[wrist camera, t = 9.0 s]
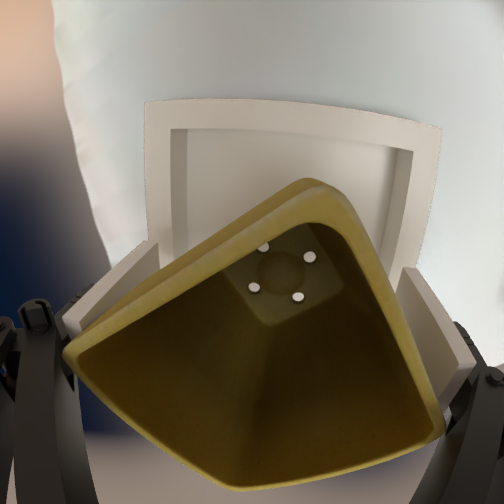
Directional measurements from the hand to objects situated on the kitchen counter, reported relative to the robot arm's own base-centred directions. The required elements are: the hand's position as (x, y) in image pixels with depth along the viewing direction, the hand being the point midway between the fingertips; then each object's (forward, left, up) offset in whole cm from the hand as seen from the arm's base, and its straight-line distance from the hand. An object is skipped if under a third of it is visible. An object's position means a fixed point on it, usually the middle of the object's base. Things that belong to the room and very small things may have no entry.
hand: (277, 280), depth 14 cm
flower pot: (0, 0, -1) cm, 1 cm away
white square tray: (0, 0, -7) cm, 7 cm away
